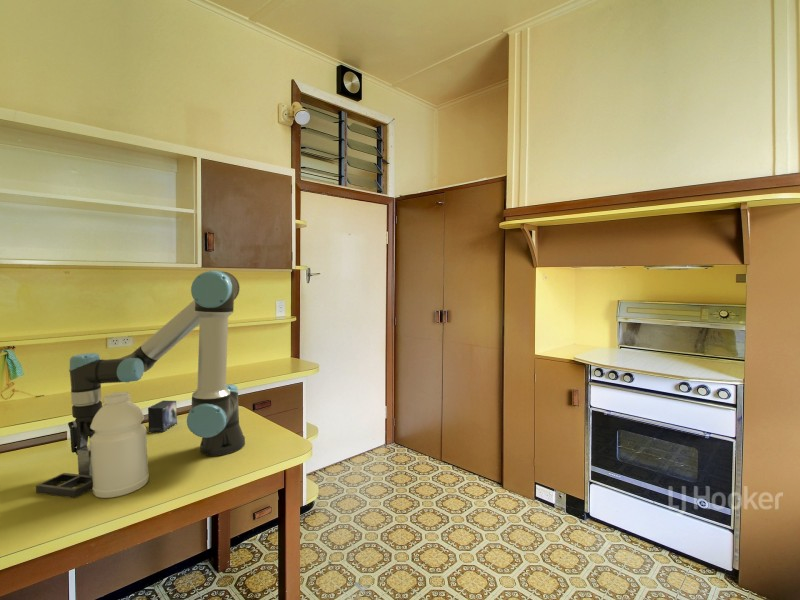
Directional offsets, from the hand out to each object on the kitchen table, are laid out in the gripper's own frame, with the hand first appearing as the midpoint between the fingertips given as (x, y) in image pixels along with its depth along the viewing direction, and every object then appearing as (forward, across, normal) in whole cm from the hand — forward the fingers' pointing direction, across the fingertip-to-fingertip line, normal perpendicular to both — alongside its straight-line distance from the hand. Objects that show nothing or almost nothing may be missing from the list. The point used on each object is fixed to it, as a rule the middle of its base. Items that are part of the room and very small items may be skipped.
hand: (91, 474), depth 129 cm
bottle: (0, -16, +4) cm, 17 cm away
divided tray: (0, -2, +8) cm, 8 cm away
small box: (+1, +10, -40) cm, 41 cm away
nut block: (0, 0, 0) cm, 0 cm away
